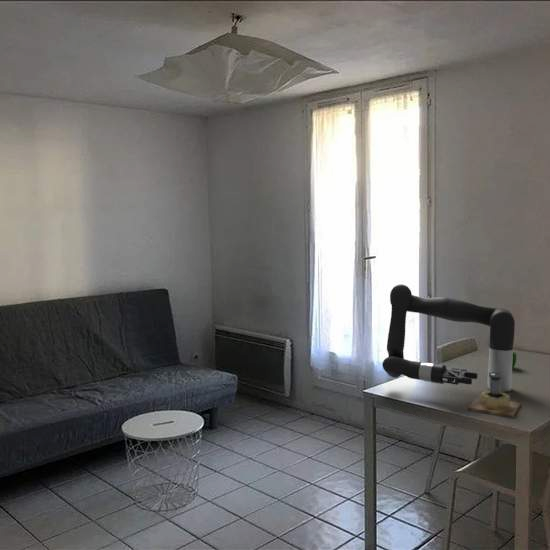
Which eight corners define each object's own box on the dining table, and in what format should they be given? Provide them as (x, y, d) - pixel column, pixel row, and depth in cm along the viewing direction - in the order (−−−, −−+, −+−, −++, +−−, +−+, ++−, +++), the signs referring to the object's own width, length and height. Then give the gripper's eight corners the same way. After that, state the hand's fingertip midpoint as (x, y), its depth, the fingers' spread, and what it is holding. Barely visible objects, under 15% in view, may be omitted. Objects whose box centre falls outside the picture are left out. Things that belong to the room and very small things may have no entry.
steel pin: (485, 403, 226) (486, 372, 225) (497, 402, 226) (498, 372, 225) (491, 407, 221) (492, 375, 220) (503, 406, 222) (504, 375, 220)
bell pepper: (512, 366, 284) (513, 345, 283) (518, 370, 275) (519, 349, 274) (494, 365, 284) (495, 345, 283) (499, 370, 276) (500, 349, 275)
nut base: (467, 409, 221) (468, 396, 221) (477, 398, 235) (478, 386, 234) (513, 417, 213) (513, 404, 212) (520, 405, 226) (521, 392, 226)
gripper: (427, 367, 229) (470, 373, 220) (438, 359, 241) (479, 365, 232) (426, 386, 230) (469, 393, 221) (437, 377, 242) (478, 383, 233)
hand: (474, 378), depth 227 cm, fingers open, 8 cm apart
